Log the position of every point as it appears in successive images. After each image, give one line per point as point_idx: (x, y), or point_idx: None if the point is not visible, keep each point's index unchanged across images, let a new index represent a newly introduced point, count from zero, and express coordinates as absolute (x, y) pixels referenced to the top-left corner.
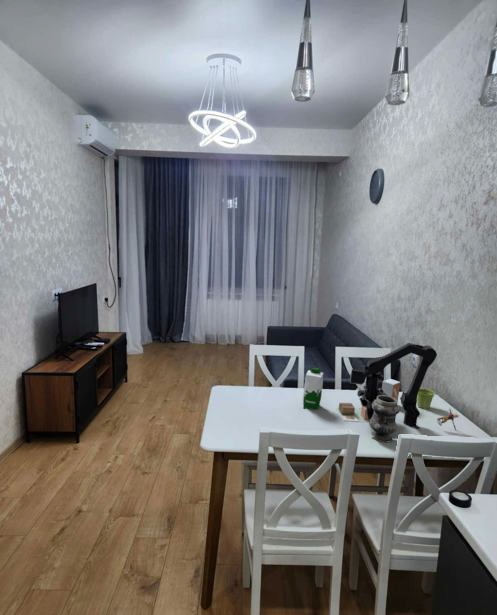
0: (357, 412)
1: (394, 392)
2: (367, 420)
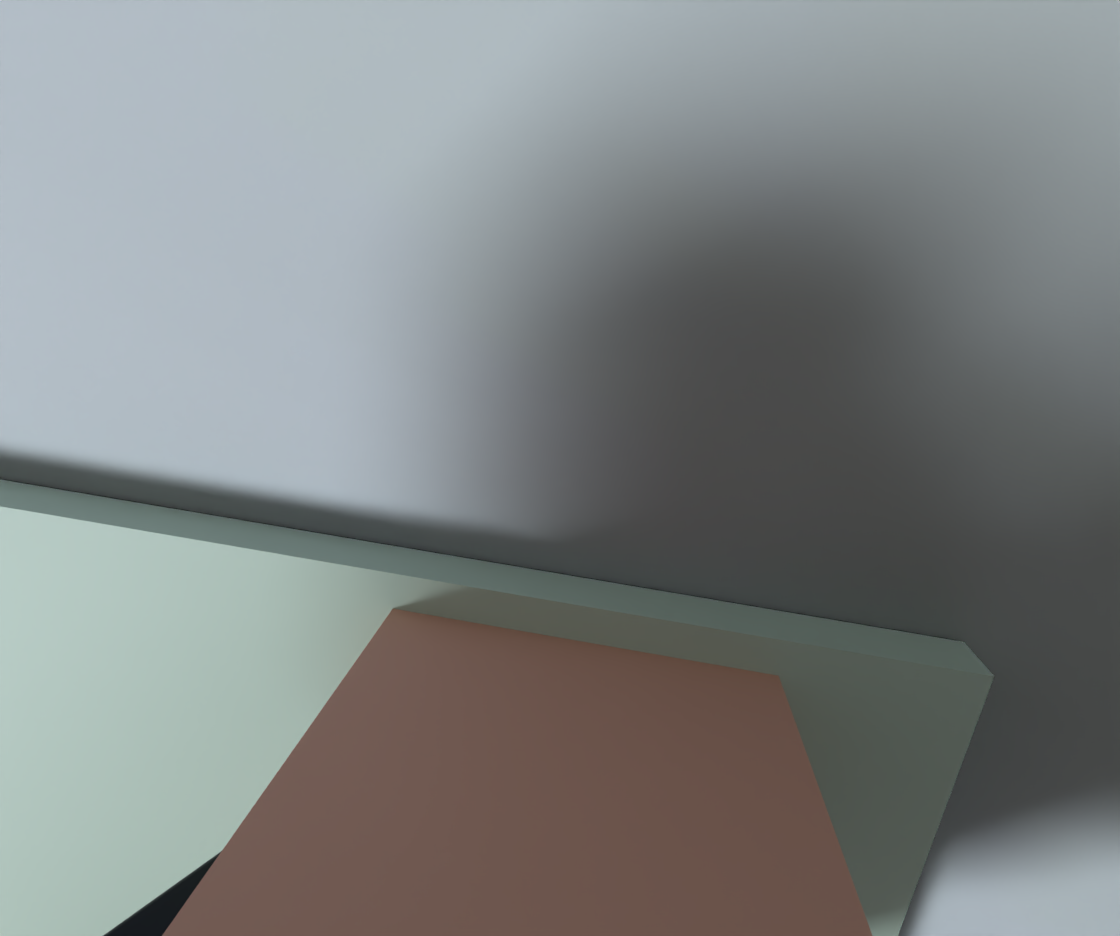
0: (153, 877)
1: None
2: None
